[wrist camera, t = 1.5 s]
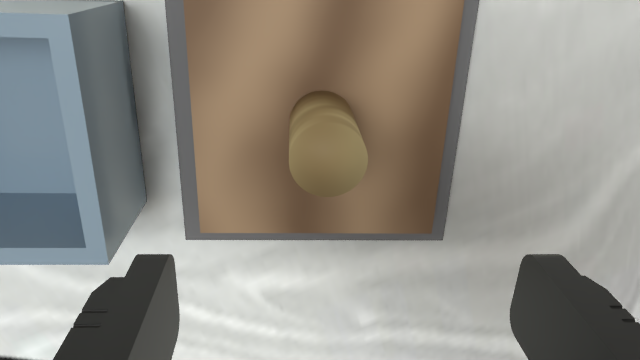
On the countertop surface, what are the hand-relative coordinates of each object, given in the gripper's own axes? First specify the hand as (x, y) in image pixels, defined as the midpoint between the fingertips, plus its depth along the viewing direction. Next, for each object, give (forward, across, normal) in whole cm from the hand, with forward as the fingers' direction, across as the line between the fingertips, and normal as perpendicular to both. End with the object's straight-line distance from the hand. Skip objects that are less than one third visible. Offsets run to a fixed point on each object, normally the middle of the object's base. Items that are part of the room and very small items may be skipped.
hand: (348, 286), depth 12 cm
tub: (+15, +14, 0) cm, 20 cm away
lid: (+14, 0, 0) cm, 14 cm away
